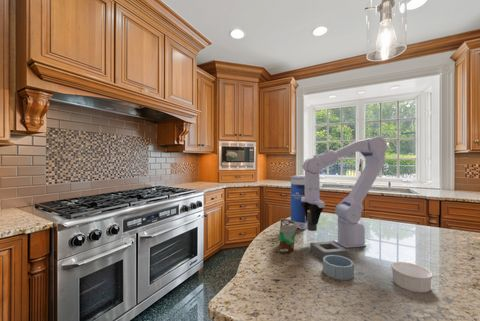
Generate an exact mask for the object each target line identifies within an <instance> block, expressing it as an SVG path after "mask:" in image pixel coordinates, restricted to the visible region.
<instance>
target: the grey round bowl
mask: <svg viewBox="0 0 480 321" xmlns="http://www.w3.org/2000/svg"><path fill="white" fill-rule="evenodd" d="M354 271H355V263H354V261H353V260H351V259H350V258H349V257H348V258H346V257H342V256H337V255H327V256H325V257H323V260H322V273H324V275H326V276H327V277H330V278H332V279H335V280H342V281H346V280H352V278H354V277H355V272H354Z"/></svg>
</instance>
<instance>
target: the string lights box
mask: <svg viewBox="0 0 480 321" xmlns="http://www.w3.org/2000/svg"><path fill="white" fill-rule="evenodd" d="M301 197H305V174H298V175H290V220H292V221H294V222H295V224H296V226H297V228H299V229H298V230H303V229H305V230H307V220H306V216H305V212H304V210H303V207H302V206H301V204H302V203H305V202H302V201H301Z"/></svg>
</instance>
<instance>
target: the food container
mask: <svg viewBox="0 0 480 321" xmlns="http://www.w3.org/2000/svg"><path fill="white" fill-rule="evenodd" d="M297 230H298V229H297V226H296V224H295V222H294V221H292V220H291V219H288V218H280V226H279V254H283V255H284V254H290V253H293V252H294V249H295V239H296V238H295V237H296V231H297Z"/></svg>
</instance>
